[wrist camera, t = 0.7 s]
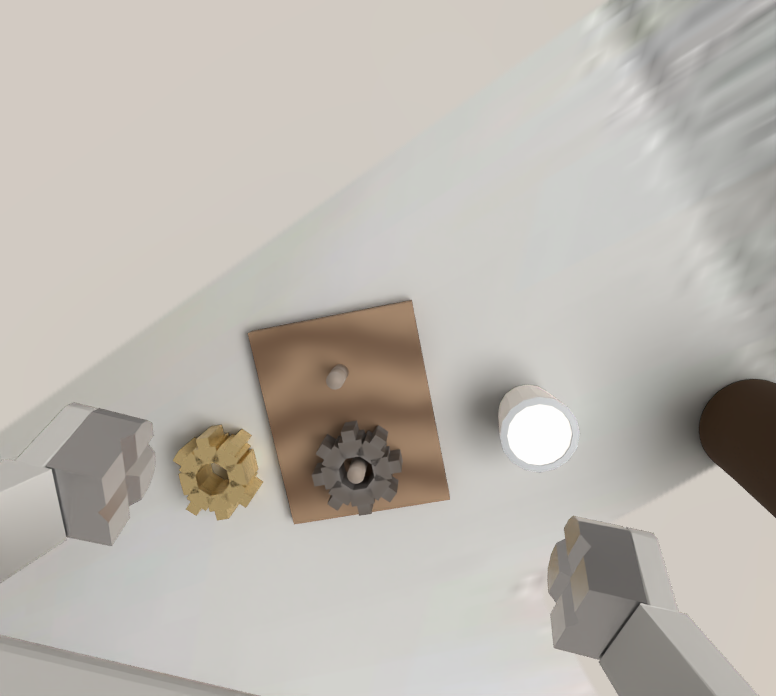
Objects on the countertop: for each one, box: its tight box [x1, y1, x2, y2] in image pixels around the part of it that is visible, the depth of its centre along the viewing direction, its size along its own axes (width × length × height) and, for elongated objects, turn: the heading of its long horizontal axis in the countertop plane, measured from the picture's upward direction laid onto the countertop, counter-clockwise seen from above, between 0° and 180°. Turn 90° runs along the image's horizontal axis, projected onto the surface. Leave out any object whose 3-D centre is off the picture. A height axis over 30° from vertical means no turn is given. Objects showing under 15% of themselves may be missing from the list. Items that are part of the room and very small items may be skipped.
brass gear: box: [173, 425, 263, 520], centre depth 60 cm, size 8×7×4 cm
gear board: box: [248, 300, 450, 524], centre depth 58 cm, size 20×16×5 cm
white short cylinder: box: [498, 385, 580, 472], centre depth 56 cm, size 7×7×7 cm
